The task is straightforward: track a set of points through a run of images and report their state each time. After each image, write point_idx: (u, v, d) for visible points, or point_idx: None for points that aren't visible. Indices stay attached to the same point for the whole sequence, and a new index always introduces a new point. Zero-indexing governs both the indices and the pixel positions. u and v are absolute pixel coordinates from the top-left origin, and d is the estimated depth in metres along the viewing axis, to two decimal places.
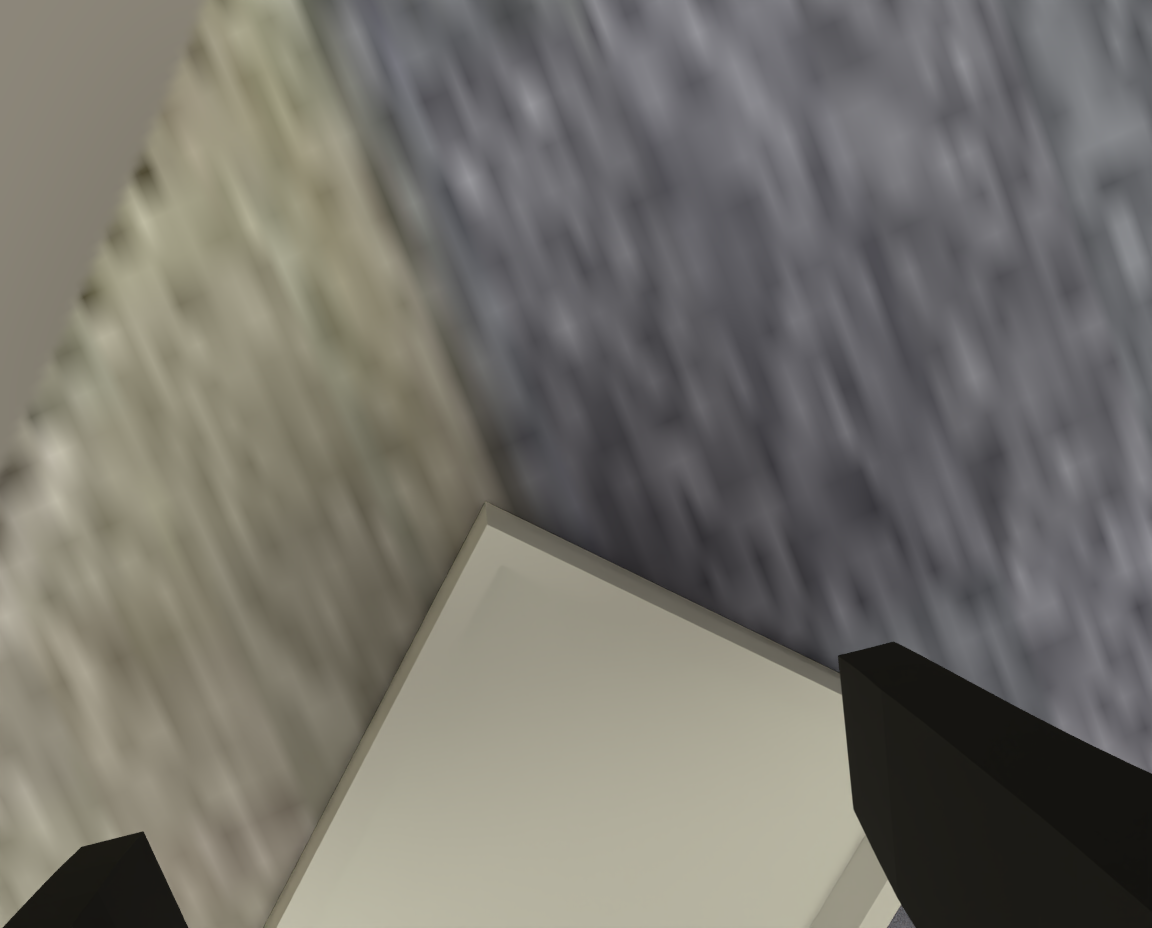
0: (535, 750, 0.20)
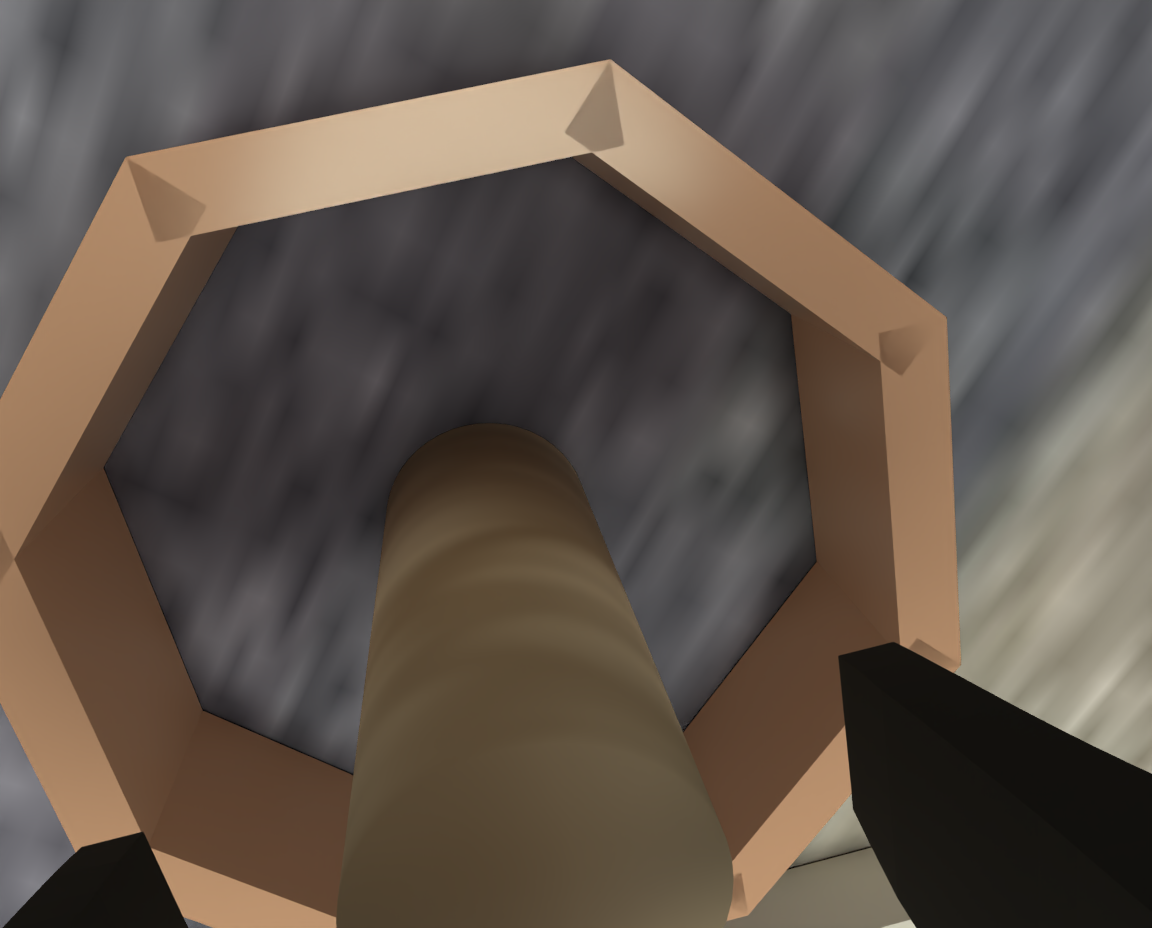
0: None
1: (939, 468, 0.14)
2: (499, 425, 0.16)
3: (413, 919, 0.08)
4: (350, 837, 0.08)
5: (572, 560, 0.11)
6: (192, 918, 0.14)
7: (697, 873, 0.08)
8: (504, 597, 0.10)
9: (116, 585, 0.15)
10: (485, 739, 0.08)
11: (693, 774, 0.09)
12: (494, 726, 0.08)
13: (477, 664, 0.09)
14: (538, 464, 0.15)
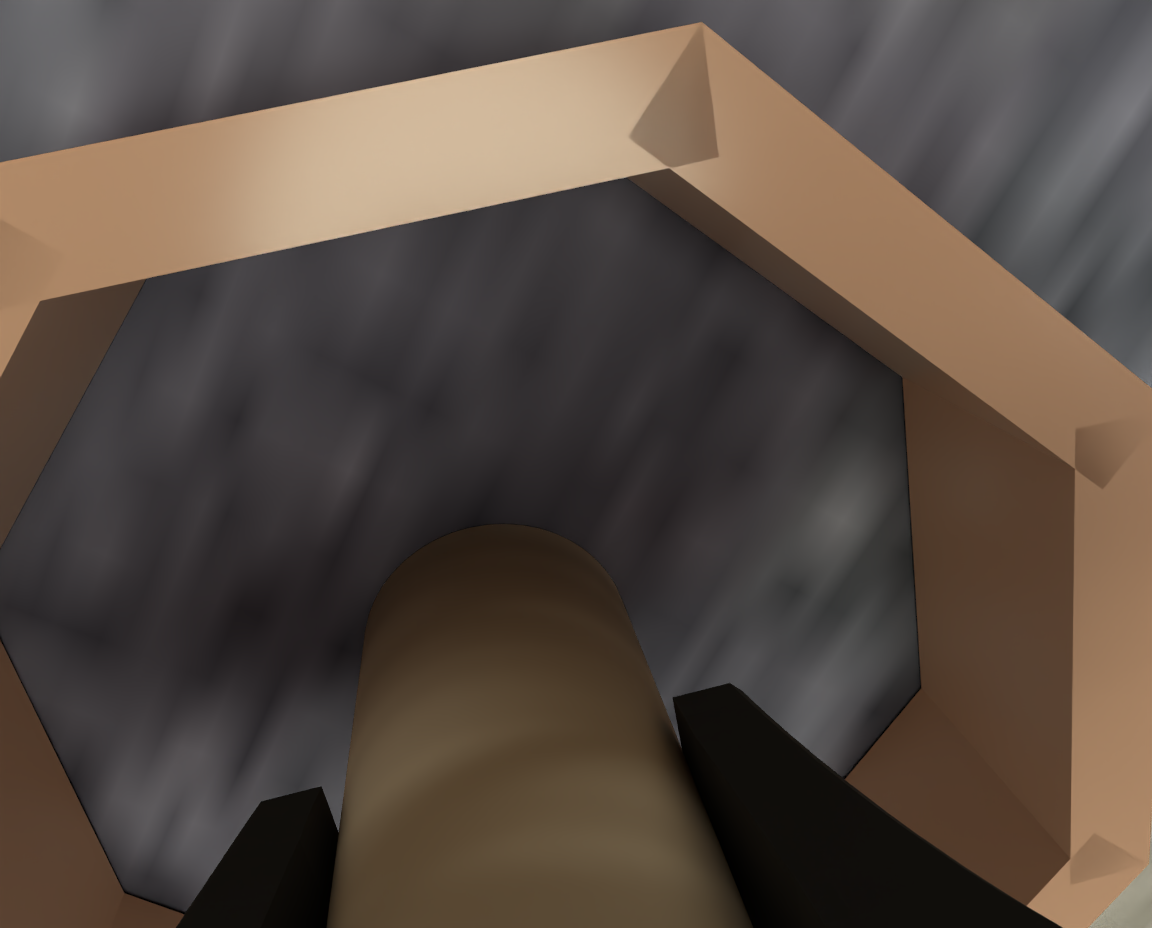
0: None
1: (1143, 612, 0.10)
2: (514, 526, 0.12)
3: None
4: None
5: (639, 802, 0.07)
6: None
7: None
8: (541, 916, 0.06)
9: None
10: None
11: None
12: None
13: None
14: (571, 595, 0.11)
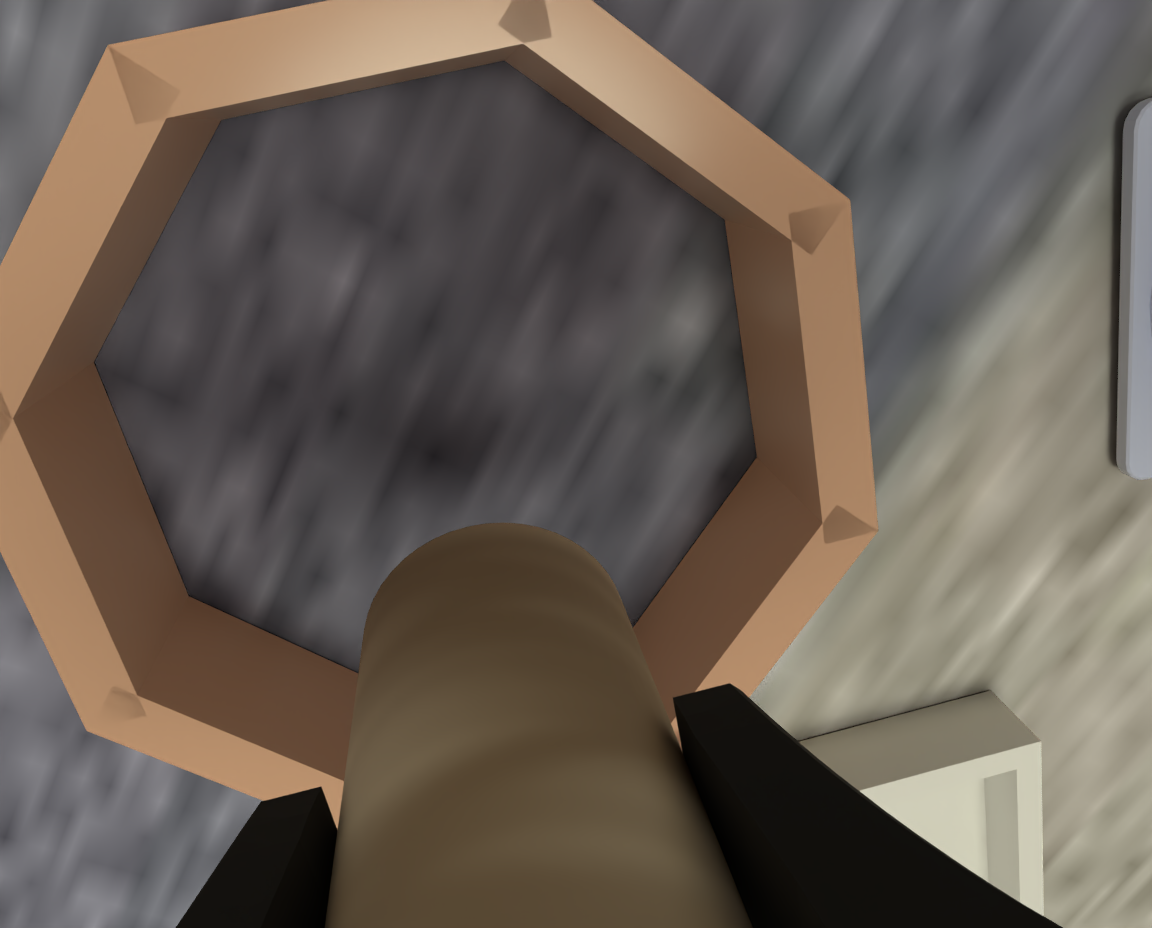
0: None
1: (850, 342, 0.15)
2: (513, 525, 0.12)
3: None
4: None
5: (637, 799, 0.07)
6: (179, 765, 0.16)
7: None
8: (539, 913, 0.06)
9: (106, 466, 0.16)
10: None
11: None
12: None
13: None
14: (570, 594, 0.11)
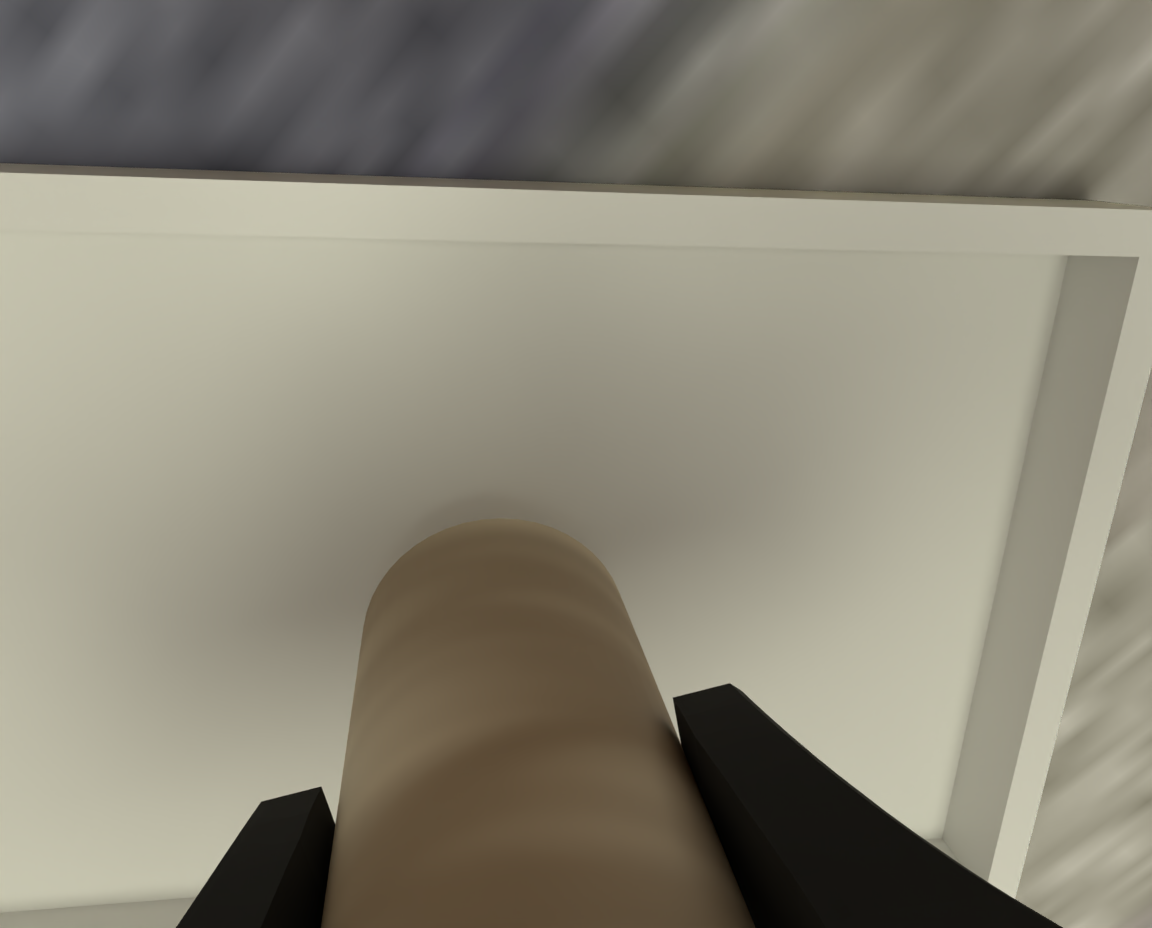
0: (188, 753, 0.14)
1: None
2: (510, 520, 0.12)
3: None
4: None
5: (631, 787, 0.07)
6: None
7: None
8: (530, 899, 0.06)
9: None
10: None
11: None
12: None
13: None
14: (565, 586, 0.11)
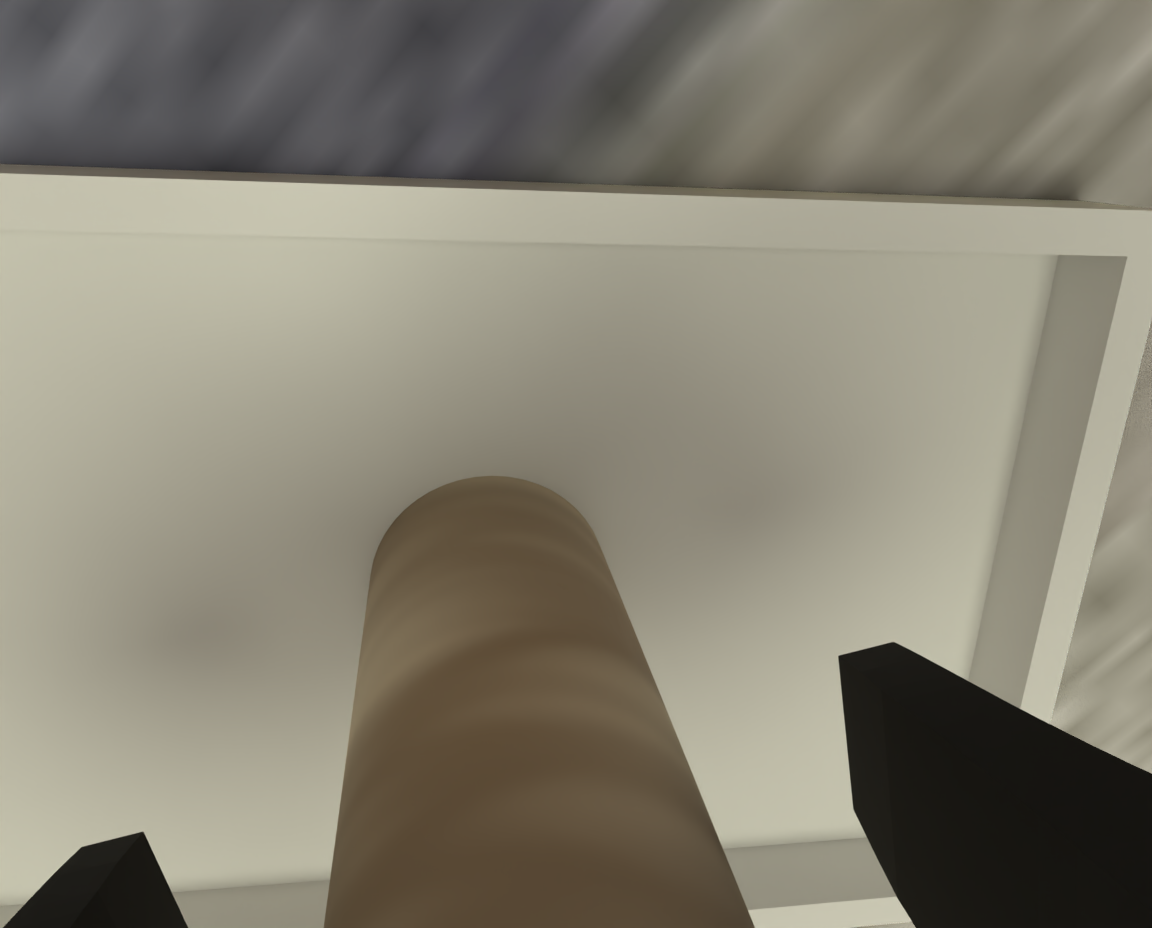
0: (189, 747, 0.14)
1: None
2: (500, 478, 0.14)
3: None
4: None
5: (598, 678, 0.09)
6: None
7: None
8: (512, 752, 0.08)
9: None
10: None
11: None
12: None
13: (478, 869, 0.06)
14: (549, 531, 0.12)
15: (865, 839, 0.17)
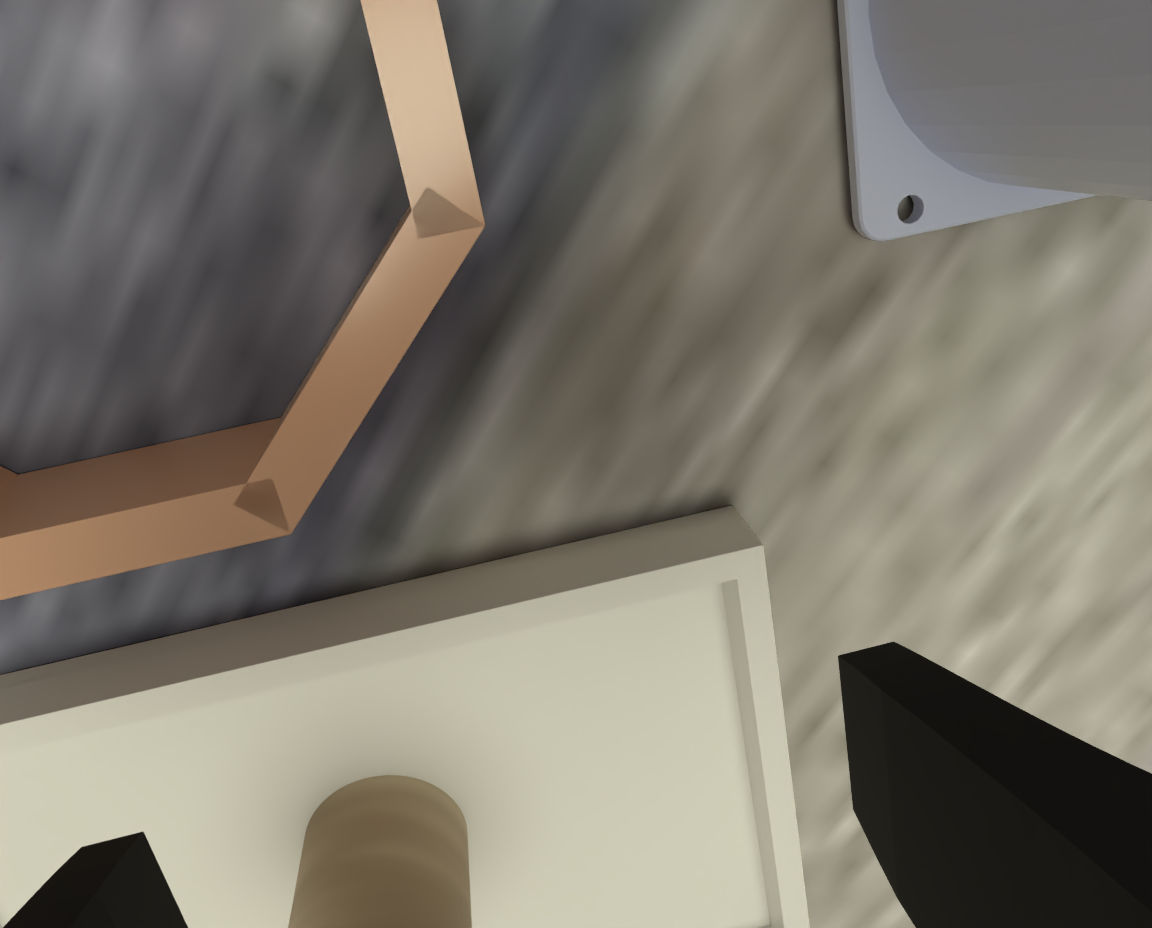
0: None
1: None
2: (373, 777, 0.20)
3: None
4: None
5: None
6: None
7: None
8: None
9: None
10: None
11: None
12: None
13: None
14: (394, 832, 0.19)
15: None
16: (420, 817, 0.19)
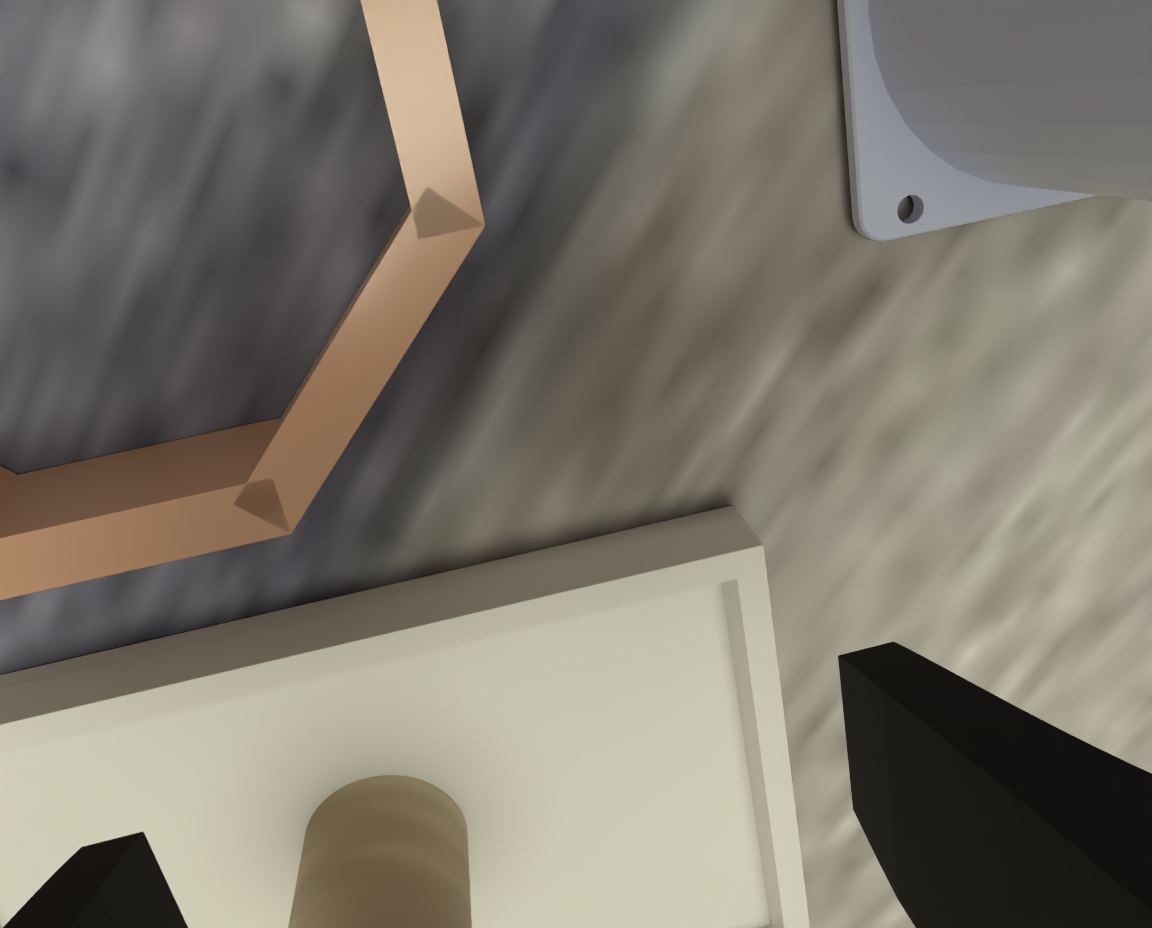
0: None
1: None
2: (373, 777, 0.20)
3: None
4: None
5: None
6: None
7: None
8: None
9: None
10: None
11: None
12: None
13: None
14: (394, 832, 0.19)
15: None
16: (420, 817, 0.19)
